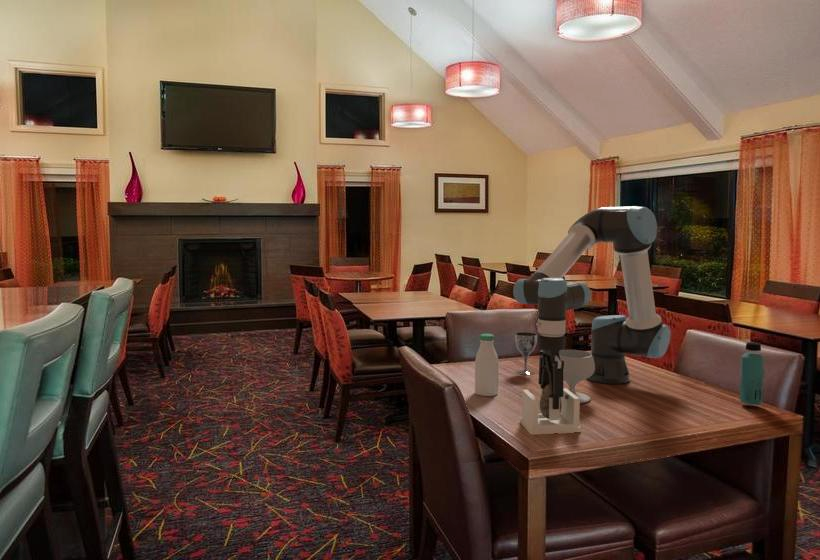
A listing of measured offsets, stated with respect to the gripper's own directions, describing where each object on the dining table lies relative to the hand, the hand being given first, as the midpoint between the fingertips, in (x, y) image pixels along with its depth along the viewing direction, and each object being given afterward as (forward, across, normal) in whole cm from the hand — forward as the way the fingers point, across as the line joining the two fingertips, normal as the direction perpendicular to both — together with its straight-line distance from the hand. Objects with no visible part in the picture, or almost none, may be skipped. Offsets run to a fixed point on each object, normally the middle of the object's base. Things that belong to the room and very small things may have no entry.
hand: (549, 415), depth 166 cm
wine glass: (+4, -59, +11) cm, 60 cm away
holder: (+3, 0, 0) cm, 3 cm away
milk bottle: (+4, -34, -10) cm, 36 cm away
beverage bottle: (+4, -11, +68) cm, 69 cm away
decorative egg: (+1, 0, 0) cm, 1 cm away
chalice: (+4, -25, +16) cm, 30 cm away
